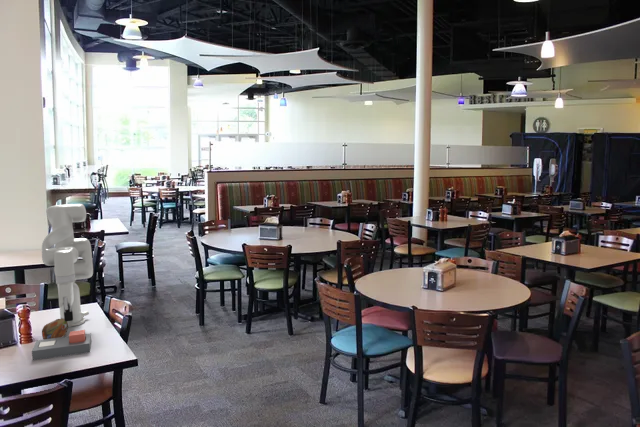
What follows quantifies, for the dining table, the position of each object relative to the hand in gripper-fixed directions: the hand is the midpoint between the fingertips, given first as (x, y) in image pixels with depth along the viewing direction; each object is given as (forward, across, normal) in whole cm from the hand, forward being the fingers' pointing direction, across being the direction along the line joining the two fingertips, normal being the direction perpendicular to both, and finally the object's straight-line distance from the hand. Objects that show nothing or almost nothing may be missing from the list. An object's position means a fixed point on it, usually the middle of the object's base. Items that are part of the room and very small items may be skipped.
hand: (68, 320), depth 235 cm
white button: (+13, 0, -9) cm, 16 cm away
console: (+13, 0, -3) cm, 13 cm away
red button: (+10, 0, +3) cm, 10 cm away
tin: (+13, -19, -9) cm, 25 cm away
